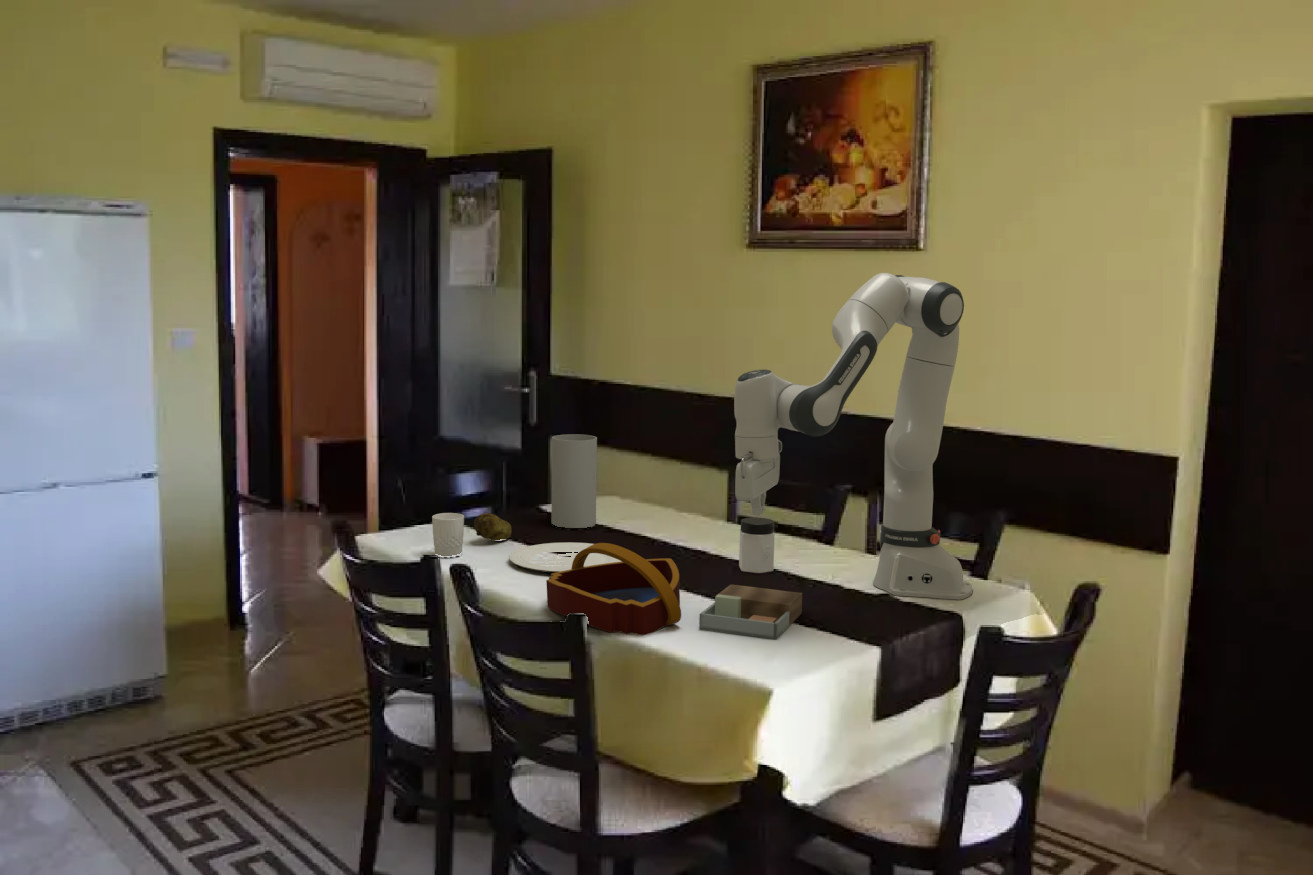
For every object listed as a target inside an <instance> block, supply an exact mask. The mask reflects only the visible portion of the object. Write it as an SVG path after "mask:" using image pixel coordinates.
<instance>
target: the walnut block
mask: <svg viewBox="0 0 1313 875" xmlns="http://www.w3.org/2000/svg"><path fill="white" fill-rule="evenodd" d="M718 594H720V595H728V596H736V597H741V618H747V619H749V618H750V617H751V616H753V615H758V616H765V617H773V618H777V620H778V619H779V618H780V617H781V616H782V615H783V614H785V613H786V612H789V627H790V626H791V625H792V624H794V622H795V621H796V620H797V619H798V618H799V617H800V616H801V615H802V612H803V611H802V610H803V608H802V607H803V592H797V591H786V590H782V589H781V590H780V589H771V588H764V587H756V586H748V585H747V586H746V585H739V584H729V585H728V586H727V587H725V588H724V589H723V590H721V591H720V592H719V593H718ZM718 594H716V595H715V596H717V595H718Z"/></svg>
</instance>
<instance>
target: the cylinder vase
mask: <svg viewBox="0 0 1313 875" xmlns="http://www.w3.org/2000/svg"><path fill="white" fill-rule="evenodd" d="M597 446H598V437H597V436H594V435H589V434H575V433H574V434H573V433H572V434H569V433H567V434H560V435H559V434H557V435H553V436H551V525H552V524H553V525H555V526H557V527H565V528H587V527H591V528H593V527H595V525H596V524H597V472H598V471H597V469H598V468H597V467H598V466H597V459H598V457H597V455H598V454H597V452H598V451H597V449H598V447H597ZM553 525H552V526H553ZM557 527H556V528H557ZM587 529H588V528H587Z"/></svg>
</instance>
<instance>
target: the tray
mask: <svg viewBox="0 0 1313 875" xmlns="http://www.w3.org/2000/svg"><path fill="white" fill-rule="evenodd" d="M698 620H699V621H698V622H699V623H698V625H699V626H698V629H699V630H702V631H711V632H716V633H717V632H718V633H725V634H733V635H740V636H747V637H753V638H762V639H767V640H775V641H777V640H778V639H779V638H780V637H781V636H782V635H783V633H785V631H787V630H788V628H789V627H790V626H789V612H786V613H785V614H783V615H782V616H781V617H780V618H779V619H778V620H777V621H776V622H775V623H772V622H764V621H756V620H749V619H747V618H734V617H726V616H719V615H715V601H714V602H713V603H712V604H710V605H709V606H707V607H706V608H705V609H704V610H703V611H701V612H700V613H699V619H698Z"/></svg>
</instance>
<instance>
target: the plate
mask: <svg viewBox="0 0 1313 875" xmlns="http://www.w3.org/2000/svg"><path fill="white" fill-rule="evenodd" d="M593 544H594V543H588V542H549V543H548V542H546V543H541V544H540V543H539V544H534V545H527V546H525V547H521V548H518V549H516V550H514V551H512V552H511V553H510V555H508V557H509V561H510V562H511V563H512V564H514V565H516V566H518V567H521V568H524V569H528V570H532V571H537V572H542V571H544V572H543V573H550V572H552V573H557V572H561V571H565V570H570V569H572V563H573V560H574V558H575V556H576V555H577V554H578V553H579V552H580V551H582V550H584V549H586V548H587V547H589V546H591V545H593ZM541 552H572V553H566V554H558V555H556V556H571V557H565V558H561V559H558V560H556V559H553V560H547V561H566V562H560V563H558V562H556V564H555V563H548V564H546V563H539V564H538V563H536V564H533V563H530V562H529V561H530V556H535V555H536V554H539V553H541ZM574 552H578V553H574ZM553 556H554V555H553ZM531 561H545V560H531ZM613 562H622V561H620V560H618V559H615V558H613V557H610V556H607V555H604V554H599V553H590V554H589V555H588V556H587V558H586V560H585V563H584V567H586V566H592V565H599V564H606V563H613ZM540 565H561V566H553V567H552V566H548V567H546V566H540ZM565 565H568V566H565ZM552 573H551V574H552Z"/></svg>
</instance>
